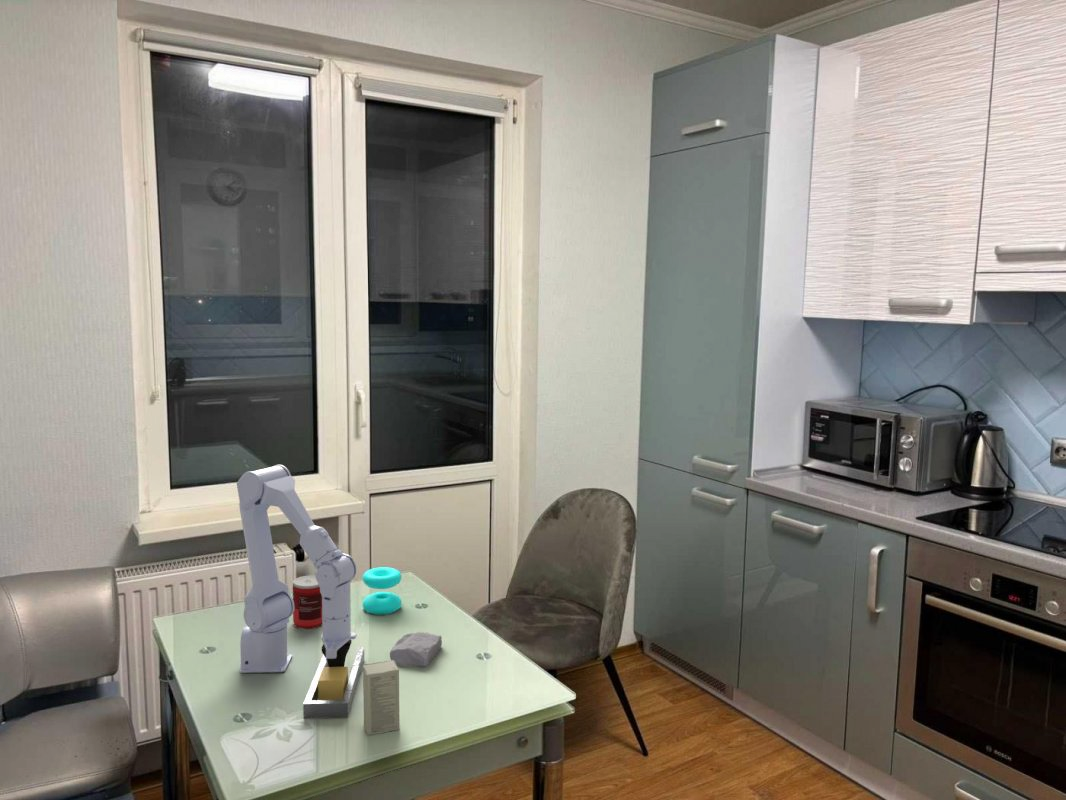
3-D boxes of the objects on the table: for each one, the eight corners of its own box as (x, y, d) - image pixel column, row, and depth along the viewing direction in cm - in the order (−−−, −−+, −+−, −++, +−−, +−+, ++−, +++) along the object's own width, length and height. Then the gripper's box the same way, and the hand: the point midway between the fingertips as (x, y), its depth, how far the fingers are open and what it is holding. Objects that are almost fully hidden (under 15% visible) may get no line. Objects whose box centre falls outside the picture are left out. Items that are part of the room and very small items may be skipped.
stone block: (387, 672, 178) (430, 668, 176) (383, 651, 178) (426, 647, 176) (405, 651, 189) (445, 647, 188) (402, 632, 189) (442, 628, 187)
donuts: (355, 576, 204) (372, 564, 214) (356, 613, 206) (372, 599, 215) (392, 580, 202) (407, 567, 212) (392, 618, 203) (407, 603, 213)
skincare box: (395, 718, 155) (395, 659, 153) (400, 730, 150) (400, 669, 149) (362, 724, 152) (362, 663, 151) (366, 736, 148) (366, 674, 147)
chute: (303, 718, 154) (303, 703, 153) (326, 660, 179) (326, 647, 178) (347, 717, 155) (347, 703, 154) (364, 659, 179) (364, 646, 179)
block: (318, 702, 160) (318, 680, 159) (323, 687, 166) (323, 666, 165) (343, 701, 160) (343, 680, 160) (348, 687, 166) (347, 666, 166)
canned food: (311, 614, 204) (310, 573, 203) (332, 622, 200) (331, 579, 198) (286, 623, 198) (285, 581, 197) (307, 632, 194) (306, 588, 192)
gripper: (351, 628, 159) (351, 692, 160) (360, 600, 173) (360, 660, 175) (314, 628, 158) (315, 693, 160) (327, 601, 172) (328, 661, 174)
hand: (336, 676), depth 167 cm, fingers closed
